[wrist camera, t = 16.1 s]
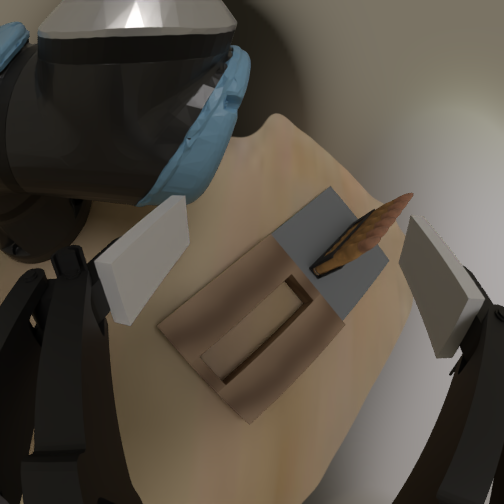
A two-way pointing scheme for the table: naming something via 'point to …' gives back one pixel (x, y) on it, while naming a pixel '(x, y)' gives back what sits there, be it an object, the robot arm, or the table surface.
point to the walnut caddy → (235, 309)
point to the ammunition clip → (359, 237)
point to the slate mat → (319, 240)
